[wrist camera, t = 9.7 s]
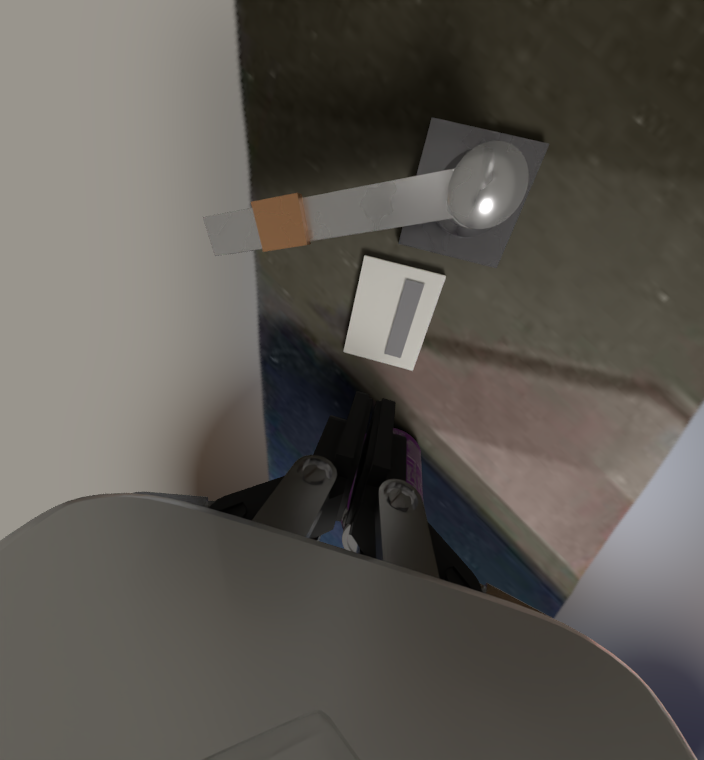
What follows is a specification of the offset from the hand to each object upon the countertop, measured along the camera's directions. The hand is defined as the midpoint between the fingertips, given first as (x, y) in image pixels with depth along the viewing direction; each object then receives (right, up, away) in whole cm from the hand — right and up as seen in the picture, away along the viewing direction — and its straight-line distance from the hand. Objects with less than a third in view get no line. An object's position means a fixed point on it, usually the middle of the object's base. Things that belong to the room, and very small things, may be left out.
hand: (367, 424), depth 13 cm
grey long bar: (0, +13, +8) cm, 16 cm away
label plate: (+3, +8, +15) cm, 17 cm away
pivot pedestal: (+8, +16, +10) cm, 20 cm away
